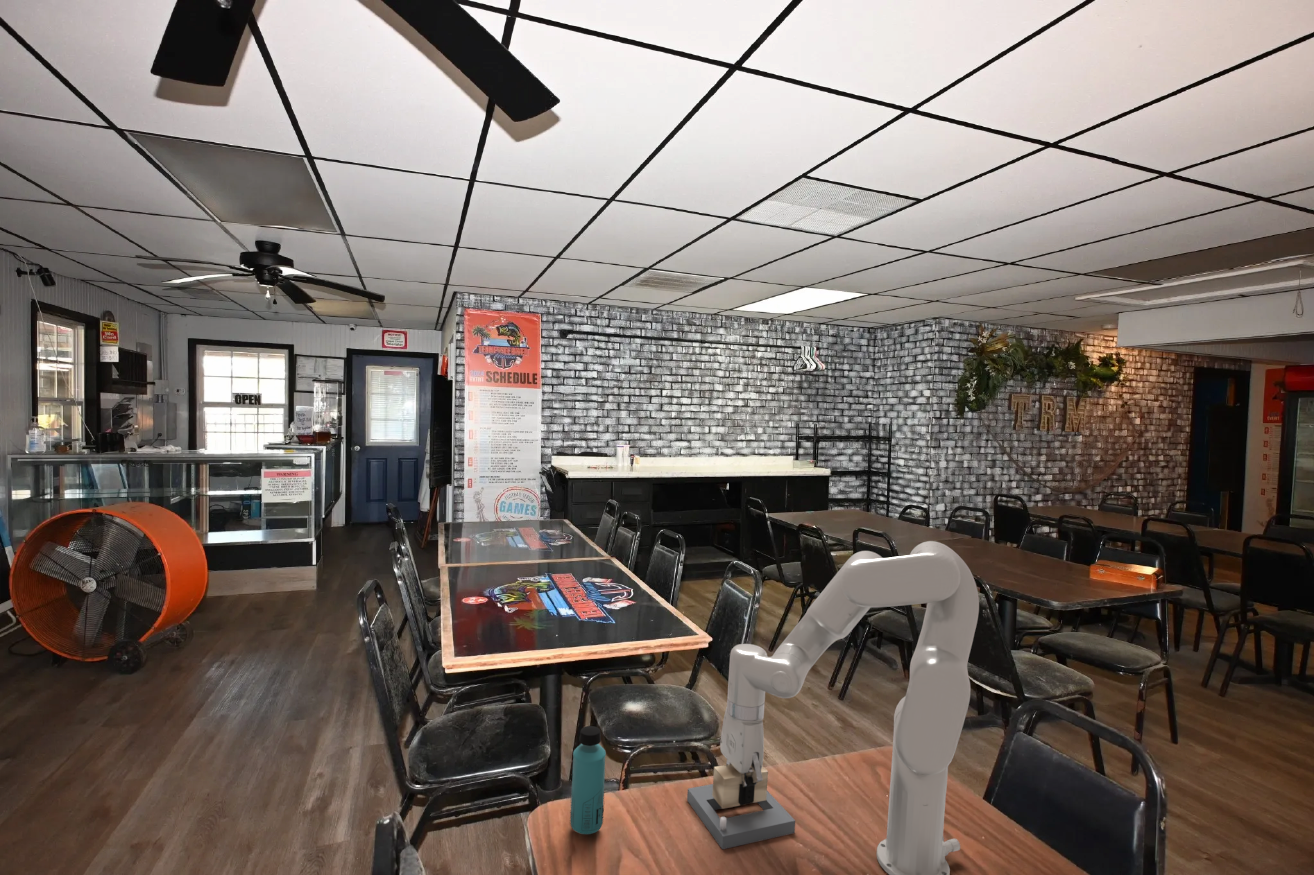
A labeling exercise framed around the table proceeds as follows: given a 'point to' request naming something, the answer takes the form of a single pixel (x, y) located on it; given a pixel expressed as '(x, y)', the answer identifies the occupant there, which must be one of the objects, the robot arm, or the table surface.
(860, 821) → the table surface
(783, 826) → the slot board
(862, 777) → the table surface
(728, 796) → the key block
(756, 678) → the robot arm
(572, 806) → the beverage bottle
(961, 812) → the table surface
